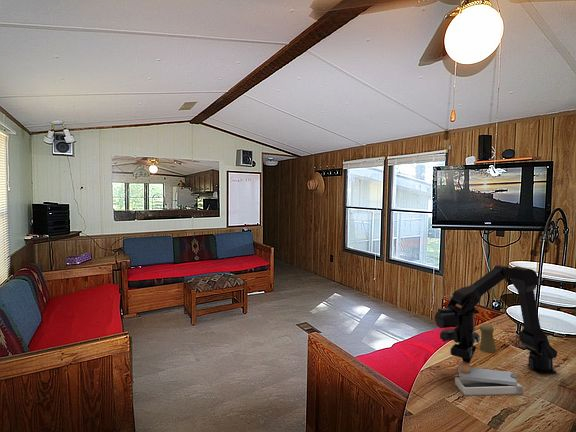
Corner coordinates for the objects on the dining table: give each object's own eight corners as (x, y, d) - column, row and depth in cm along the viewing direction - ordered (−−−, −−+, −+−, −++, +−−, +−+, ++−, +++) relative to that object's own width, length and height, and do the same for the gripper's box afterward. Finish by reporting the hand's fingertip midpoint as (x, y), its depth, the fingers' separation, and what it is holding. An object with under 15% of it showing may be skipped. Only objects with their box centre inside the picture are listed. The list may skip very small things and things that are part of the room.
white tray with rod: (510, 382, 114) (509, 375, 114) (523, 394, 107) (522, 386, 107) (455, 384, 115) (454, 377, 115) (464, 395, 108) (464, 388, 108)
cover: (514, 375, 113) (514, 364, 113) (520, 386, 107) (520, 373, 107) (458, 369, 120) (457, 358, 120) (460, 378, 114) (459, 367, 113)
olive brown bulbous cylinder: (498, 353, 136) (497, 327, 136) (483, 352, 137) (481, 327, 137) (492, 347, 142) (491, 322, 142) (477, 346, 143) (476, 322, 143)
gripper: (448, 313, 130) (449, 350, 131) (434, 328, 116) (436, 370, 117) (479, 319, 123) (480, 358, 123) (469, 336, 109) (470, 380, 109)
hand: (466, 366), depth 118 cm, fingers closed
